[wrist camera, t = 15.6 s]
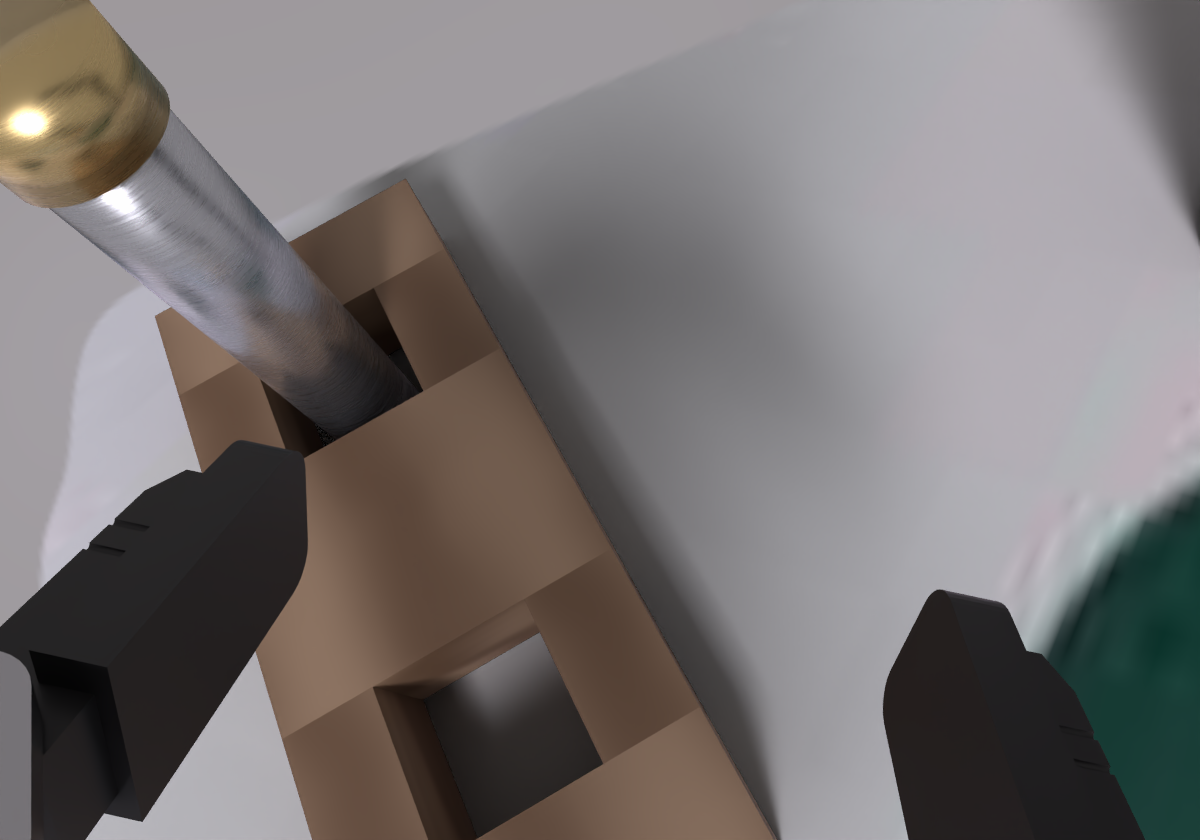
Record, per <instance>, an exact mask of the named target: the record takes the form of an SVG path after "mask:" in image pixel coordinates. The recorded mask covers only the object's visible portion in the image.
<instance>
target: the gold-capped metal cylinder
mask: <svg viewBox="0 0 1200 840" xmlns="http://www.w3.org/2000/svg"><path fill="white" fill-rule="evenodd" d="M0 183H1V184H3V185H4V186H5V187H7V188H8V189H9V190H10V191H12V192H13V193H14V194H16V195H17V196H18V197H19V198H21V199H22V200H23V201H25V202H27V203H29V204H31V205H34V206H38V207H43V208H49V209H50V210H52V211H53V212H54V213H55V214H57V215H58V216H59V217H60V218H62V219H63V220H64V221H65V222H67V223H68V224H69V225H70V226H72V227H73V228H74V229H75V230H77V231H78V232H79V233H80V234H81V235H83V236H84V237H85V238H86V239H88V240H89V241H90V242H91V243H93V244H94V245H95V246H96V247H98V248H99V249H100V250H101V251H103V252H104V253H105V254H106V255H108V256H109V257H110V258H111V259H113V260H114V261H115V262H116V263H117V264H119V265H120V266H121V267H122V268H124V269H125V270H126V271H127V272H129V273H130V274H131V275H132V276H133V277H135V278H136V279H137V280H138V281H140V282H141V283H142V284H143V285H145V286H146V287H147V288H148V289H150V290H151V291H152V292H153V293H155V294H156V295H157V296H158V297H159V298H161V299H162V300H163V301H164V302H166V303H167V304H168V305H169V306H171V307H172V308H173V309H174V310H176V311H177V312H178V313H179V314H181V315H182V316H183V317H184V318H185V319H187V320H188V321H189V322H190V323H192V324H193V325H194V326H195V327H197V328H198V329H199V330H200V331H202V332H203V333H204V334H205V335H207V336H208V337H209V338H210V339H211V340H213V341H214V342H215V343H216V344H218V345H219V346H220V347H221V348H223V349H224V350H225V351H226V352H228V353H229V354H230V355H231V356H233V357H234V358H235V359H236V360H238V361H239V362H240V363H241V364H242V365H244V366H245V367H246V368H247V369H249V370H250V371H251V372H252V373H254V374H255V375H256V376H257V377H259V378H260V379H261V380H262V381H264V382H265V383H266V384H267V385H268V386H270V387H271V388H272V389H273V390H275V391H276V392H277V393H278V394H280V395H281V396H282V397H283V398H285V399H286V400H287V401H288V402H290V403H291V404H292V405H293V406H294V407H296V408H297V409H298V410H299V411H301V412H302V413H303V414H304V415H306V416H307V417H308V418H309V419H311V420H312V421H313V422H314V423H316V424H317V425H318V426H319V427H320V428H322V429H323V430H324V431H325V432H327V433H328V434H329V435H330V436H332V437H333V438H334V439H335V440H338V439H339V438H341V437H343V436H345V435H347V434H348V433H350V432H352V431H354V430H355V429H357V428H359V427H361V426H363V425H364V424H366V423H368V422H370V421H371V420H373V419H375V418H377V417H379V416H380V415H382V414H384V413H386V412H387V411H389V410H391V409H393V408H395V407H396V406H398V405H400V404H402V403H403V402H405V401H407V400H409V399H411V398H412V397H414V396H416V395H418V394H419V391H418V390H417V389H416V388H415V387H414V385H413V384H412V383H411V382H410V381H409V380H408V379H407V378H406V376H405V375H404V374H403V373H402V372H401V371H400V370H399V368H398V367H397V366H396V365H395V364H394V363H393V362H392V360H391V359H390V358H389V357H388V356H387V355H386V354H385V353H384V351H383V350H382V349H381V348H380V347H379V346H378V345H377V343H376V342H375V341H374V340H373V339H372V338H371V337H370V335H369V334H368V333H367V332H366V331H365V330H364V329H363V327H362V326H361V325H360V324H359V323H358V322H357V321H356V320H355V318H354V317H353V316H352V315H351V314H350V313H349V312H348V310H347V309H346V308H345V307H344V306H343V305H342V304H341V302H340V301H339V300H338V299H337V298H336V297H335V296H334V295H333V293H332V292H331V291H330V290H329V289H328V288H327V287H326V285H325V284H324V283H323V282H322V281H321V280H320V279H319V277H318V276H317V275H316V274H315V273H314V272H313V271H312V270H311V268H310V267H309V266H308V265H307V264H306V263H305V262H304V260H303V259H302V258H301V257H300V256H299V255H298V254H297V252H296V251H295V250H294V249H293V248H292V247H291V246H290V244H289V243H288V242H287V241H286V240H285V239H284V238H283V237H282V235H281V234H280V233H279V232H278V231H277V230H276V229H275V227H274V226H273V225H272V224H271V223H270V222H269V221H268V219H267V218H266V217H265V216H264V215H263V214H262V213H261V212H260V210H259V209H258V208H257V207H256V206H255V205H254V204H253V203H252V201H251V200H250V199H249V198H248V197H247V196H246V194H245V193H244V192H243V191H242V190H241V189H240V188H239V187H238V185H237V184H236V183H235V182H234V181H233V180H232V179H231V178H230V176H229V175H228V174H227V173H226V172H225V171H224V170H223V168H222V167H221V166H220V165H219V164H218V163H217V162H216V160H215V159H214V158H213V157H212V156H211V155H210V154H209V152H208V151H207V150H206V149H205V148H204V147H203V146H202V144H201V143H200V142H199V141H198V140H197V139H196V138H195V136H194V135H193V134H192V133H191V132H190V131H189V130H188V129H187V127H186V126H185V125H184V124H183V123H182V122H181V121H180V120H179V118H178V117H177V116H176V115H175V114H174V113H173V112H172V110H171V109H170V102H169V98H168V94H167V92H166V90H165V88H164V87H163V86H162V84H161V83H160V82H159V81H158V80H157V79H156V77H155V76H154V75H153V74H152V73H151V72H150V70H149V69H148V68H147V67H146V66H145V65H144V63H143V62H142V61H141V60H140V59H139V58H138V56H137V55H136V54H135V53H134V52H133V51H132V49H131V48H130V47H129V46H128V45H127V44H126V43H125V41H124V40H123V39H122V38H121V37H120V35H119V34H118V33H117V32H116V31H115V30H114V28H112V26H111V25H110V24H109V23H108V22H107V20H106V19H105V18H104V17H103V16H102V15H101V13H100V12H99V11H98V10H97V9H96V8H95V6H94V5H93V4H92V3H91V2H90V1H89V0H0Z"/></svg>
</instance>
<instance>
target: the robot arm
mask: <svg viewBox="0 0 1200 840" xmlns="http://www.w3.org/2000/svg"><path fill="white" fill-rule="evenodd" d="M307 552H308V527H307V498H306V469H305V461H304V458H303V456H302V454H301V453H300V452H298V451H293V450H288V449H284V448H279V447H274V446H269V445H265V444H260V443H255V442H250V441H246V440H238V441H235V442H234V443H232V444H231V445H230V446H229V447H228V448H227V449H226V450H225V451H224V452H223V453H222V454H221V455H220V456H219V457H218V458H217V459H216V460H215V461H214V462H213V463H212V464H211V465H210V466H209V467H208V468H207V469H206V470H205V471H204V472H203V473H200V472H195V471H190V470H185V471H183V472H181V473H179V474H177V475H175V476H173V477H171V478H169V479H167V480H165V481H163V482H161V483H159V484H157V485H155V486H153V487H151V488H149V489H147V490H145V491H144V492H143V493H142V494H141V495H140V496H139V497H137V498H136V499H135V500H134V501H133V502H132V503H131V504H130V505H129V506H128V507H127V508H126V509H125V510H124V511H123V512H122V513H121V514H119V515H118V516H117V517H116V518H115V522H114V524H113V525H108V526H107V527H106V528H105V529H104V530H103V531H101V532H100V533H99V534H98V535H97V536H96V537H95V538H94V539H93V540H92V541H91V542H90V545H89V548H88V549H87V550H86V549H82V550H81V551H80V552H79V553H78V554H77V555H76V556H75V557H74V558H73V559H72V560H71V561H70V562H69V563H68V564H66V565H65V566H64V567H63V568H62V569H61V570H60V571H59V572H58V573H57V574H56V575H55V576H54V577H53V578H52V579H51V580H50V581H48V582H47V583H46V584H45V585H44V586H43V587H42V588H41V589H40V590H39V591H38V592H37V593H36V594H35V595H34V596H33V597H32V598H30V599H29V600H28V601H27V602H26V603H25V604H24V605H23V606H22V607H21V608H20V609H19V610H18V611H17V612H16V613H15V614H13V615H12V616H11V617H10V618H9V619H8V620H7V621H6V622H5V623H4V624H3V625H2V626H1V627H0V840H85V839H86V838H87V837H88V835H89V834H90V832H91V831H92V829H93V828H94V827H95V825H96V824H97V822H98V821H99V820H100V818H101V817H102V815H103V814H104V813H105V814H110V815H114V816H119V817H123V818H128V819H132V820H136V821H141V822H143V820H144V819H145V817H146V816H147V814H148V813H149V811H150V810H151V808H152V807H153V805H154V804H155V802H156V801H157V799H158V797H159V796H160V794H161V793H162V791H163V790H164V788H165V787H166V785H167V784H168V782H169V781H170V779H171V778H172V776H173V775H174V773H175V772H176V770H177V769H178V767H179V766H180V764H181V763H182V761H183V760H184V758H185V757H186V755H187V754H188V752H189V751H190V749H191V748H192V746H193V745H194V743H195V742H196V740H197V738H198V737H199V735H200V734H201V732H202V731H203V729H204V728H205V726H206V725H207V723H208V722H209V720H210V719H211V717H212V716H213V714H214V713H215V711H216V710H217V708H218V707H219V705H220V704H221V702H222V701H223V699H224V698H225V696H226V695H227V693H228V692H229V690H230V689H231V687H232V686H233V684H234V683H235V681H236V680H237V678H238V676H239V675H240V673H241V672H242V670H243V669H244V667H245V666H246V664H247V663H248V661H249V660H250V658H251V657H252V655H253V654H254V652H255V651H256V649H257V648H258V646H259V645H260V643H261V642H262V640H263V639H264V637H265V636H266V634H267V633H268V631H269V630H270V628H271V627H272V625H273V624H274V622H275V621H276V619H277V618H278V616H279V614H280V613H281V611H282V610H283V608H284V607H285V605H286V604H287V602H288V601H289V599H290V598H291V596H292V595H293V593H294V591H295V590H296V588H297V586H298V584H299V581H300V579H301V576H302V573H303V570H304V567H305V563H306V558H307ZM883 718H884V725H885V730H886V735H887V739H888V744H889V749H890V754H891V758H892V763H893V768H894V773H895V777H896V782H897V787H898V792H899V796H900V801H901V806H902V810H903V815H904V820H905V825H906V829H907V834H908V839H909V840H1145V838H1144V836H1143V834H1142V832H1141V830H1140V828H1139V826H1138V824H1137V822H1136V819H1135V817H1134V815H1133V813H1132V811H1131V809H1130V807H1129V805H1128V803H1127V801H1126V798H1125V796H1124V794H1123V792H1122V790H1121V788H1120V786H1119V784H1118V782H1117V780H1116V777H1115V775H1110V773H1109V768H1110V765H1109V763H1108V761H1107V758H1106V756H1105V754H1104V752H1103V750H1102V748H1101V746H1100V744H1099V742H1098V741H1097V740H1094V739H1093V734H1094V731H1093V729H1092V727H1091V725H1090V723H1089V721H1088V719H1087V716H1086V714H1085V712H1084V710H1083V708H1082V706H1081V704H1080V702H1079V700H1078V698H1077V695H1076V693H1075V692H1074V690H1073V689H1072V688H1071V687H1070V686H1069V685H1068V684H1067V683H1066V681H1065V680H1064V679H1063V678H1062V677H1061V676H1060V675H1059V674H1058V672H1057V671H1056V670H1055V669H1054V668H1053V667H1052V666H1051V664H1050V663H1049V662H1048V661H1047V660H1046V659H1045V658H1044V657H1043V655H1042V654H1039V653H1034V652H1029V651H1026V649H1025V647H1024V644H1023V642H1022V640H1021V637H1020V635H1019V633H1018V631H1017V628H1016V626H1015V624H1014V621H1013V619H1012V617H1011V614H1010V612H1009V611H1008V609H1007V608H1006V606H1005V605H1004V604H1002V603H1000V602H997V601H992V600H987V599H983V598H978V597H973V596H969V595H964V594H959V593H954V592H950V591H945V590H936V591H934V592H933V593H932V594H931V595H930V596H929V597H928V599H927V600H926V602H925V604H924V606H923V608H922V610H921V612H920V614H919V616H918V618H917V620H916V622H915V624H914V626H913V627H912V629H911V631H910V633H909V635H908V637H907V639H906V641H905V643H904V645H903V647H902V649H901V651H900V653H899V655H898V657H897V659H896V661H895V663H894V665H893V667H892V669H891V671H890V673H889V676H888V679H887V682H886V686H885V691H884V699H883Z"/></svg>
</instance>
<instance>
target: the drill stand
mask: <svg viewBox="0 0 1200 840" xmlns="http://www.w3.org/2000/svg"><path fill="white" fill-rule="evenodd" d="M289 244H290V246H291V247H292V248H293V249H294V250H295V251H296V252H297V254H298V255H299V256H300V257H301V258H302V259H303V260H304V262H305V263H306V264H307V265H308V266H309V267H310V268H311V270H312V271H313V272H314V273H315V274H316V275H317V276H318V277H319V279H320V280H321V281H322V282H323V283H324V284H325V285H326V287H327V288H328V289H329V290H330V291H331V292H332V293H333V295H334V296H335V297H336V298H337V299H338V300H339V301H340V302H341V304H342V305H343V306H344V307H345V308H346V309H347V310H348V312H349V313H350V314H351V315H352V316H353V317H354V318H355V320H356V321H357V322H358V323H359V324H360V325H361V326H362V327H363V329H364V330H365V331H366V332H367V333H368V334H369V335H370V337H371V338H372V339H373V340H374V341H375V342H376V343H377V345H378V346H379V347H380V348H381V349H382V350H383V351H384V353H385V354H386V355H389V354H390V353H392V352H394V351H396V350H398V349H399V348H401V347H402V348H403V350H404V352H405V354H406V356H407V358H408V360H409V362H410V364H411V366H412V368H413V370H414V372H415V374H416V377H417V379H418V381H419V383H420V385H421V387H422V389H423V392H421V393H419V394H418V395H416V396H414V397H412V398H411V399H409V400H407V401H405V402H403V403H402V404H400V405H398V406H396V407H395V408H393V409H391V410H389V411H387V412H386V413H384V414H382V415H380V416H379V417H377V418H375V419H373V420H371V421H370V422H368V423H366V424H364V425H363V426H361V427H359V428H357V429H355V430H354V431H352V432H350V433H348V434H347V435H345V436H343V437H341V438H339V439H338V440H336V441H334V442H332V443H331V444H329V445H327V446H325V447H324V446H323V444H322V441H321V439H320V436H319V434H318V431H317V428H316V426H315V423H314V422H313V421H312V420H311V419H309V418H308V417H307V416H306V415H304V414H303V413H302V412H301V411H299V410H298V409H297V408H296V407H294V406H293V405H292V404H291V403H290V402H288V401H287V400H286V399H285V398H283V397H282V396H281V395H280V394H278V393H277V392H276V391H275V390H273V389H272V388H271V387H270V386H268V385H267V384H266V383H265V382H264V381H262V380H261V379H260V378H259V377H257V376H256V375H255V374H254V373H252V372H251V371H250V370H249V369H247V368H246V367H245V366H244V365H242V364H241V363H240V362H239V361H238V360H236V359H235V358H234V357H233V356H231V355H230V354H229V353H228V352H226V351H225V350H224V349H223V348H221V347H220V346H219V345H218V344H216V343H215V342H214V341H213V340H211V339H210V338H209V337H208V336H207V335H205V334H204V333H203V332H202V331H200V330H199V329H198V328H197V327H195V326H194V325H193V324H192V323H190V322H189V321H188V320H187V319H185V318H184V317H183V316H182V315H181V314H179V313H178V312H177V311H176V310H174V309H173V308H172V307H171V308H169V309H167V310H165V311H163V312H161V313H160V314H158V315H156V316H155V318H156V321H157V325H158V328H159V331H160V335H161V338H162V341H163V345H164V348H165V351H166V355H167V358H168V361H169V365H170V368H171V371H172V375H173V378H174V381H175V385H176V388H177V391H178V395H179V398H180V401H181V405H182V408H183V411H184V415H185V418H186V421H187V425H188V428H189V431H190V435H191V438H192V441H193V445H194V448H195V451H196V455H197V458H198V461H199V464H200V468H201V471H202V473H203V472H204V471H205V470H206V469H207V468H208V467H209V466H210V465H211V464H212V463H213V462H214V461H215V460H216V459H217V458H218V457H219V456H220V455H221V454H222V453H223V452H224V451H225V450H226V449H227V448H228V447H229V446H230V445H231V444H232V443H234V442H235V441H238V440H246V441H250V442H255V443H260V444H265V445H269V446H274V447H279V448H284V449H288V450H293V451H298V452H300V453H301V454H302V456H303V458H304V461H305V469H306V498H307V527H308V552H307V558H306V563H305V567H304V570H303V573H302V576H301V579H300V581H299V584H298V586H297V588H296V590H295V591H294V593H293V595H292V596H291V598H290V599H289V601H288V602H287V604H286V605H285V607H284V608H283V610H282V611H281V613H280V614H279V616H278V618H277V619H276V621H275V622H274V624H273V625H272V627H271V628H270V630H269V631H268V633H267V634H266V636H265V637H264V639H263V640H262V642H261V643H260V645H259V646H258V648H257V649H256V654H257V658H258V661H259V664H260V667H261V671H262V674H263V677H264V681H265V684H266V687H267V691H268V694H269V697H270V701H271V704H272V707H273V711H274V714H275V717H276V721H277V724H278V727H279V731H280V734H281V737H282V741H283V744H284V747H285V751H286V754H287V757H288V761H289V764H290V767H291V771H292V774H293V777H294V781H295V784H296V787H297V791H298V794H299V797H300V801H301V804H302V807H303V811H304V814H305V817H306V821H307V824H308V827H309V831H310V834H311V837H312V840H777V839H776V837H775V835H774V833H773V831H772V830H771V828H770V826H769V824H768V822H767V821H766V819H765V817H764V815H763V813H762V812H761V810H760V808H759V806H758V805H757V803H756V801H755V799H754V797H753V796H752V794H751V792H750V790H749V788H748V787H747V785H746V783H745V781H744V779H743V778H742V776H741V774H740V772H739V771H738V769H737V767H736V765H735V763H734V762H733V760H732V758H731V756H730V754H729V753H728V751H727V749H726V747H725V745H724V744H723V742H722V740H721V738H720V736H719V735H718V733H717V731H716V729H715V728H714V726H713V724H712V722H711V720H710V719H709V717H708V715H707V713H706V711H705V710H704V708H703V706H702V704H701V702H700V701H699V699H698V697H697V695H696V694H695V692H694V690H693V688H692V686H691V685H690V683H689V681H688V679H687V677H686V676H685V674H684V672H683V670H682V668H681V667H680V665H679V663H678V661H677V660H676V658H675V656H674V654H673V652H672V651H671V649H670V647H669V645H668V643H667V642H666V640H665V638H664V636H663V634H662V633H661V631H660V629H659V627H658V626H657V624H656V622H655V620H654V618H653V617H652V615H651V613H650V611H649V609H648V608H647V606H646V604H645V602H644V600H643V599H642V597H641V595H640V593H639V591H638V590H637V588H636V586H635V584H634V583H633V581H632V579H631V577H630V575H629V574H628V572H627V570H626V568H625V566H624V565H623V563H622V561H621V559H620V557H619V556H618V554H617V552H616V550H615V549H614V547H613V545H612V543H611V541H610V540H609V538H608V536H607V534H606V532H605V531H604V529H603V527H602V525H601V523H600V522H599V520H598V518H597V516H596V515H595V513H594V511H593V509H592V507H591V506H590V504H589V502H588V500H587V498H586V497H585V495H584V493H583V491H582V489H581V488H580V486H579V484H578V482H577V481H576V479H575V477H574V475H573V473H572V472H571V470H570V468H569V466H568V464H567V463H566V461H565V459H564V457H563V455H562V454H561V452H560V450H559V448H558V447H557V445H556V443H555V441H554V439H553V438H552V436H551V434H550V432H549V430H548V429H547V427H546V425H545V423H544V421H543V420H542V418H541V416H540V414H539V412H538V411H537V409H536V407H535V405H534V404H533V402H532V400H531V398H530V396H529V395H528V393H527V391H526V389H525V387H524V386H523V384H522V382H521V380H520V378H519V377H518V375H517V373H516V371H515V370H514V368H513V366H512V364H511V362H510V361H509V359H508V357H507V355H506V353H505V352H504V350H503V348H502V346H501V344H500V343H499V341H498V339H497V337H496V336H495V334H494V332H493V330H492V328H491V327H490V325H489V323H488V321H487V319H486V318H485V316H484V314H483V312H482V310H481V309H480V307H479V305H478V303H477V302H476V300H475V298H474V296H473V294H472V293H471V291H470V289H469V287H468V285H467V284H466V282H465V280H464V278H463V276H462V275H461V273H460V271H459V269H458V267H457V266H456V264H455V262H454V260H453V259H452V257H451V255H450V253H449V251H448V250H447V248H446V246H445V244H444V242H443V241H442V239H441V237H440V235H439V234H438V232H437V230H436V229H435V227H434V225H433V224H432V222H431V220H430V219H429V217H428V215H427V214H426V212H425V210H424V209H423V207H422V205H421V204H420V202H419V200H418V199H417V197H416V195H415V193H414V192H413V190H412V188H411V187H410V185H409V183H408V182H407V180H406V179H404V180H402V181H401V182H399V183H397V184H395V185H393V186H391V187H390V188H388V189H386V190H384V191H382V192H380V193H379V194H377V195H375V196H373V197H371V198H370V199H368V200H366V201H364V202H362V203H360V204H359V205H357V206H355V207H353V208H351V209H349V210H348V211H346V212H344V213H342V214H340V215H338V216H337V217H335V218H333V219H331V220H329V221H328V222H326V223H324V224H322V225H320V226H318V227H317V228H315V229H313V230H311V231H309V232H307V233H306V234H304V235H302V236H300V237H298V238H297V239H295V240H293V241H291V242H289ZM539 632H540V634H541V636H542V638H543V640H544V642H545V644H546V646H547V648H548V650H549V652H550V654H551V656H552V658H553V660H554V663H555V665H556V667H557V669H558V671H559V673H560V675H561V677H562V679H563V681H564V683H565V685H566V687H567V690H568V692H569V694H570V696H571V698H572V700H573V702H574V704H575V706H576V708H577V710H578V712H579V714H580V716H581V719H582V721H583V723H584V725H585V727H586V729H587V731H588V733H589V735H590V737H591V739H592V741H593V743H594V745H595V748H596V750H597V752H598V754H599V756H600V758H601V760H602V762H603V765H601V766H599V767H597V768H596V769H594V770H592V771H591V772H589V773H587V774H586V775H584V776H582V777H581V778H579V779H577V780H576V781H574V782H572V783H570V784H569V785H567V786H565V787H564V788H562V789H560V790H559V791H557V792H555V793H554V794H552V795H550V796H549V797H547V798H545V799H543V800H542V801H540V802H538V803H537V804H535V805H533V806H532V807H530V808H528V809H527V810H525V811H523V812H521V813H520V814H518V815H516V816H515V817H513V818H511V819H510V820H508V821H506V822H505V823H503V824H501V825H500V826H498V827H496V828H494V829H493V830H491V831H489V832H488V833H486V834H484V835H483V836H481V837H479V838H478V839H477V836H476V834H475V831H474V828H473V826H472V823H471V821H470V818H469V816H468V813H467V811H466V808H465V806H464V803H463V800H462V798H461V795H460V793H459V790H458V788H457V785H456V783H455V780H454V778H453V775H452V772H451V770H450V767H449V765H448V762H447V760H446V757H445V755H444V752H443V749H442V747H441V744H440V742H439V739H438V737H437V734H436V732H435V729H434V727H433V724H432V721H431V719H430V716H429V714H428V711H427V709H426V706H425V704H424V701H423V700H424V699H425V698H427V697H429V696H431V695H432V694H434V693H436V692H437V691H439V690H441V689H443V688H444V687H446V686H448V685H449V684H451V683H453V682H455V681H456V680H458V679H460V678H462V677H463V676H465V675H467V674H468V673H470V672H472V671H474V670H475V669H477V668H479V667H480V666H482V665H484V664H486V663H487V662H489V661H491V660H492V659H494V658H496V657H498V656H499V655H501V654H503V653H505V652H506V651H508V650H510V649H511V648H513V647H515V646H517V645H518V644H520V643H522V642H523V641H525V640H527V639H529V638H530V637H532V636H534V635H535V634H537V633H539Z"/></svg>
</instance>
